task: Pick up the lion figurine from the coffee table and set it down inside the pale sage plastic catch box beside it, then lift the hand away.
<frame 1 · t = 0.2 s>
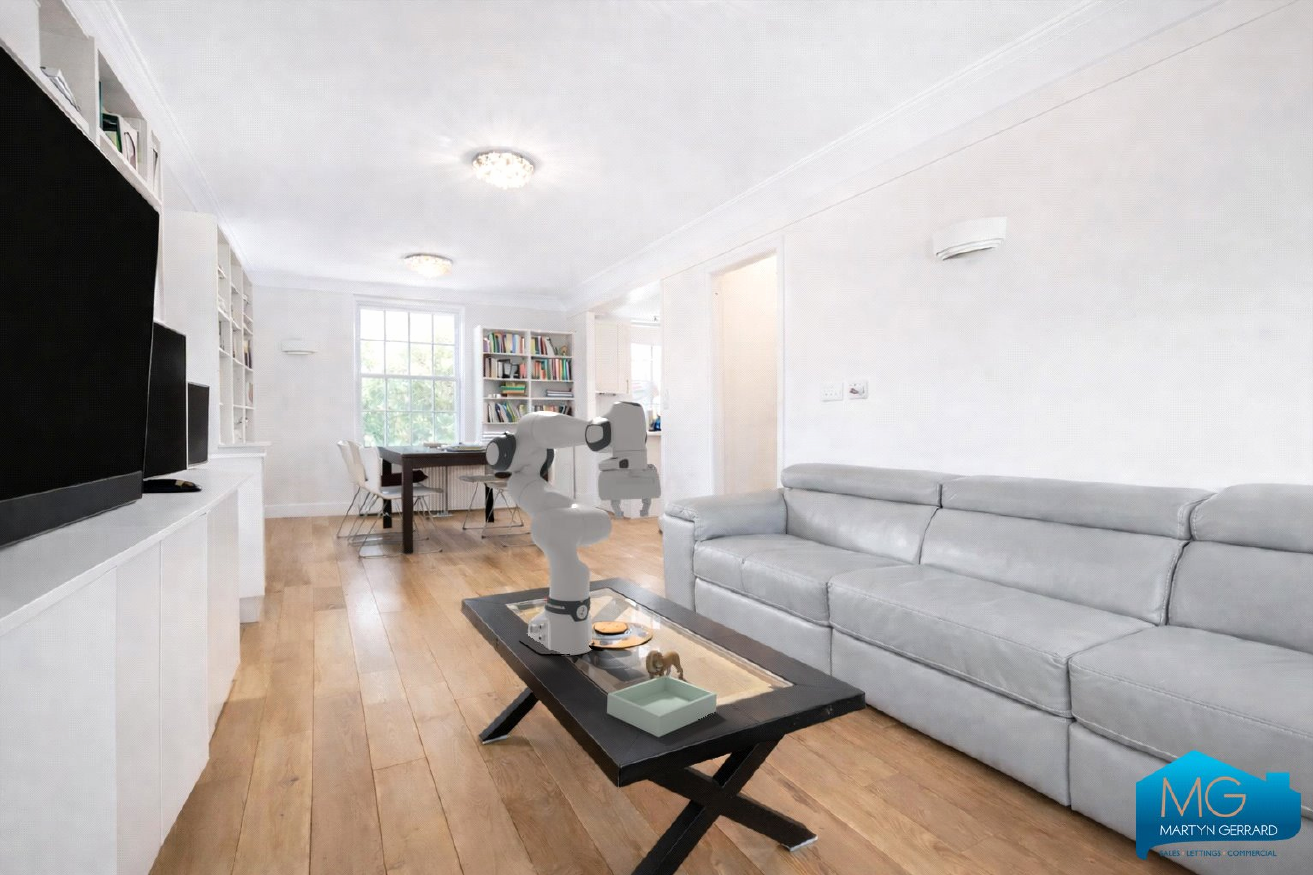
hand: (632, 517, 161), 39 cm above the table, tool pointing down, fingers open, 8 cm apart
lion figurine: (664, 684, 152), on the table
catch box: (661, 712, 135), on the table
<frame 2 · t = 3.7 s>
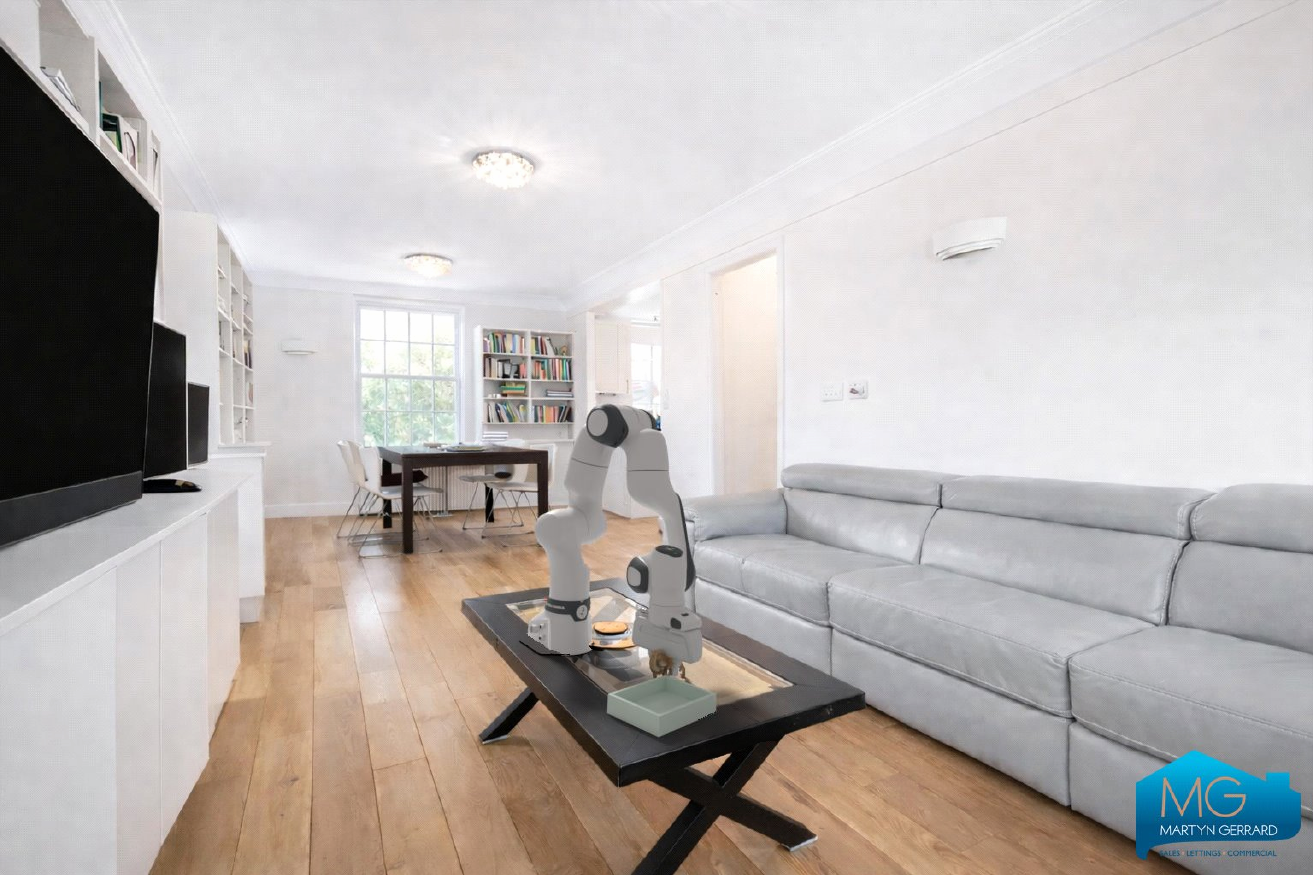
hand: (664, 672, 152), 3 cm above the table, tool pointing down, fingers open, 4 cm apart
lion figurine: (667, 683, 153), on the table, touching gripper
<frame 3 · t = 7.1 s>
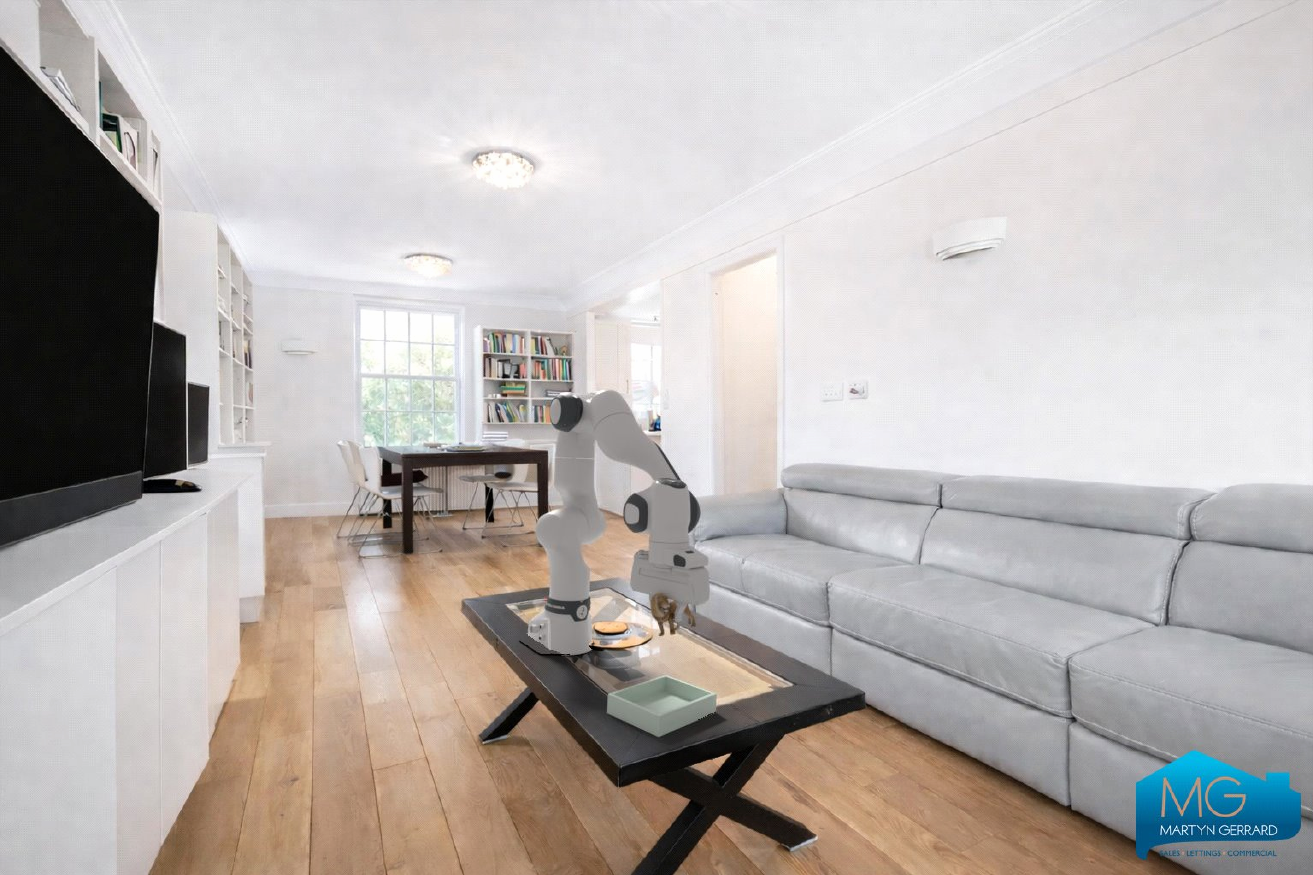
hand: (667, 618, 136), 20 cm above the table, tool pointing down, fingers closed on lion figurine, 4 cm apart
lion figurine: (676, 633, 136), point 17 cm above the table, touching gripper
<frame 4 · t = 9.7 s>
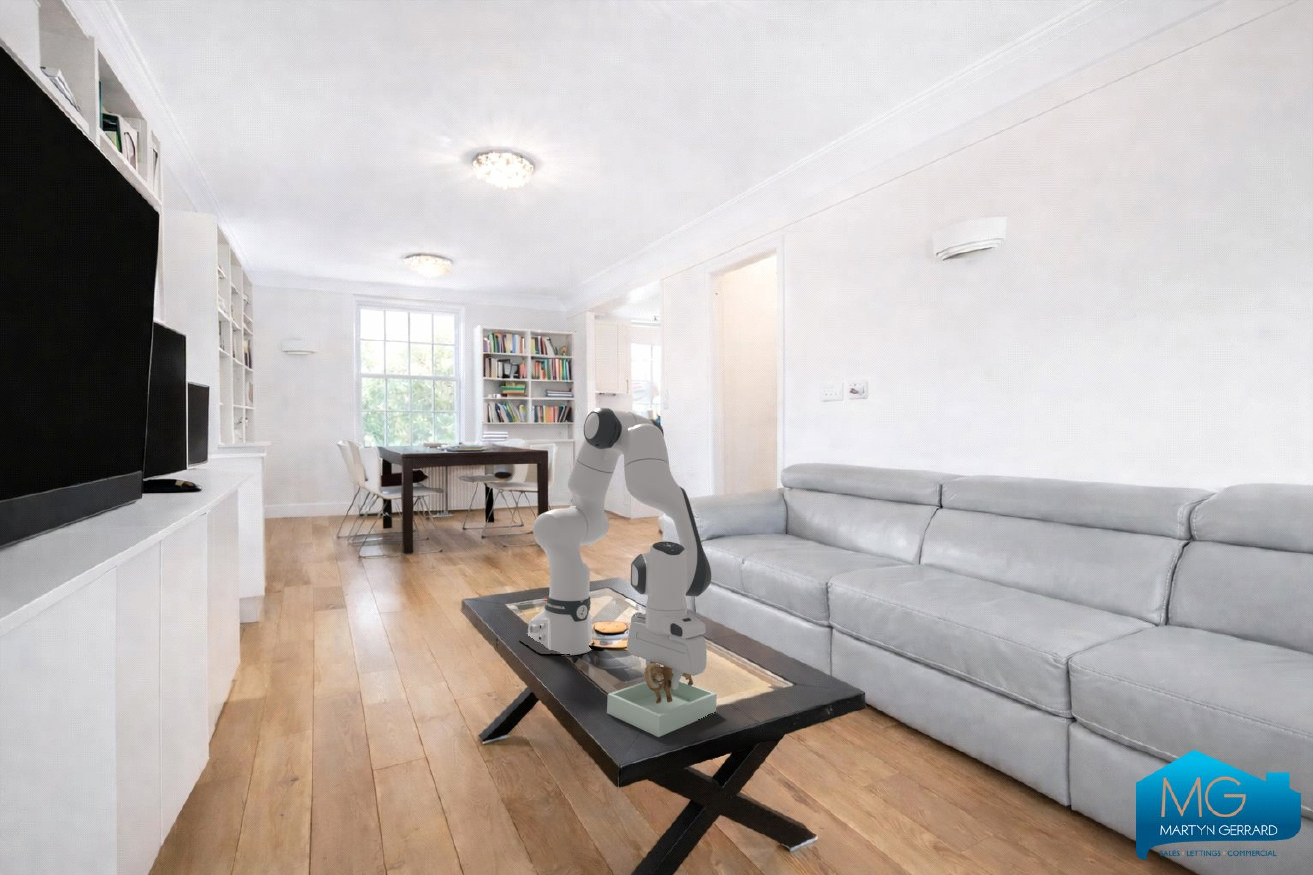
hand: (663, 684, 135), 6 cm above the table, tool pointing down, fingers closed on lion figurine, 4 cm apart
lion figurine: (673, 697, 135), point 3 cm above the table, touching catch box, gripper
when the fingers open (5 cm above the table, at t = 10.7 s): lion figurine stays where it is, resting on catch box.
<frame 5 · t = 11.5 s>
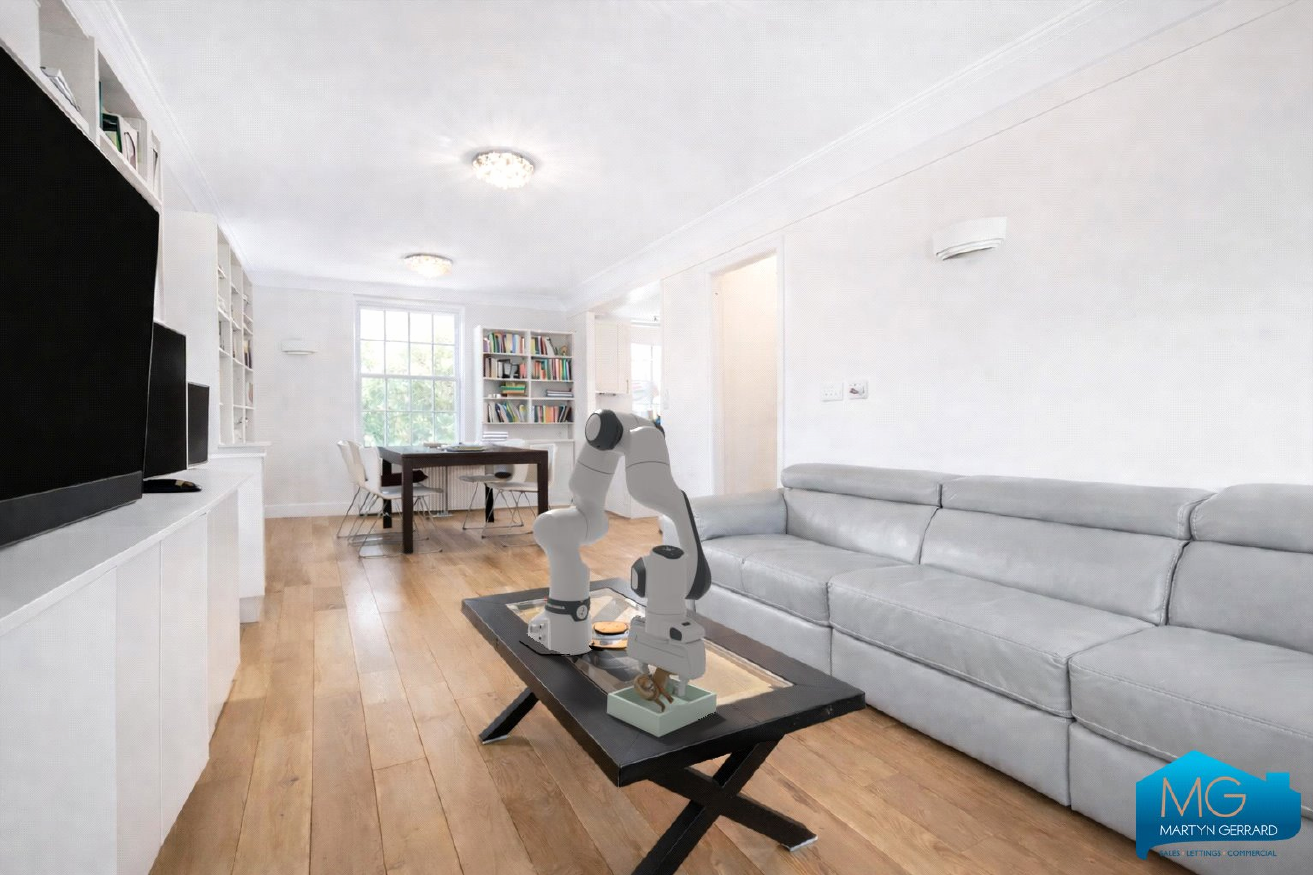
hand: (662, 688, 135), 5 cm above the table, tool pointing down, fingers open, 8 cm apart
lion figurine: (675, 697, 135), point 3 cm above the table, touching catch box, gripper
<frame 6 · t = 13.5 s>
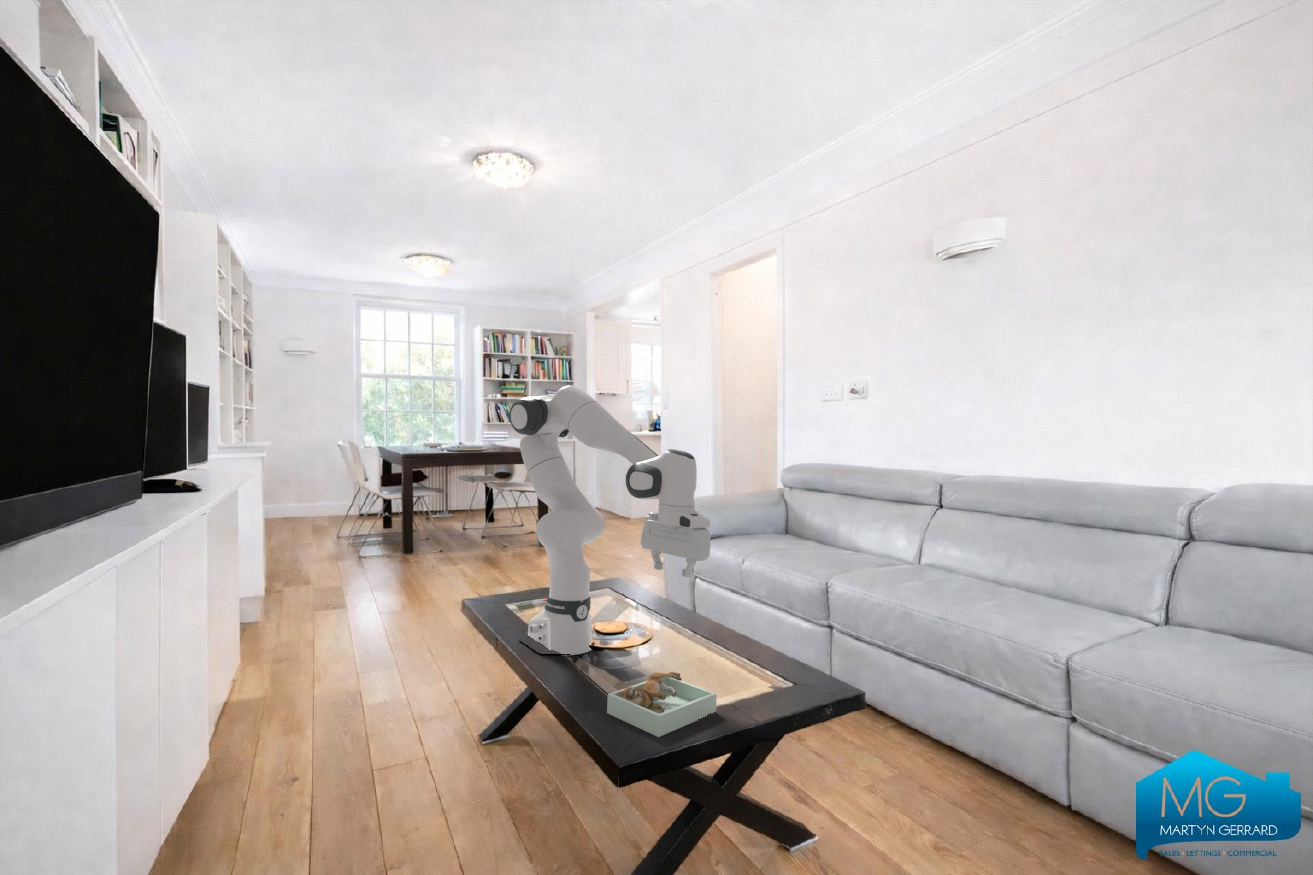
hand: (672, 572, 155), 26 cm above the table, tool pointing down, fingers open, 8 cm apart
lion figurine: (670, 694, 135), point 4 cm above the table, touching catch box
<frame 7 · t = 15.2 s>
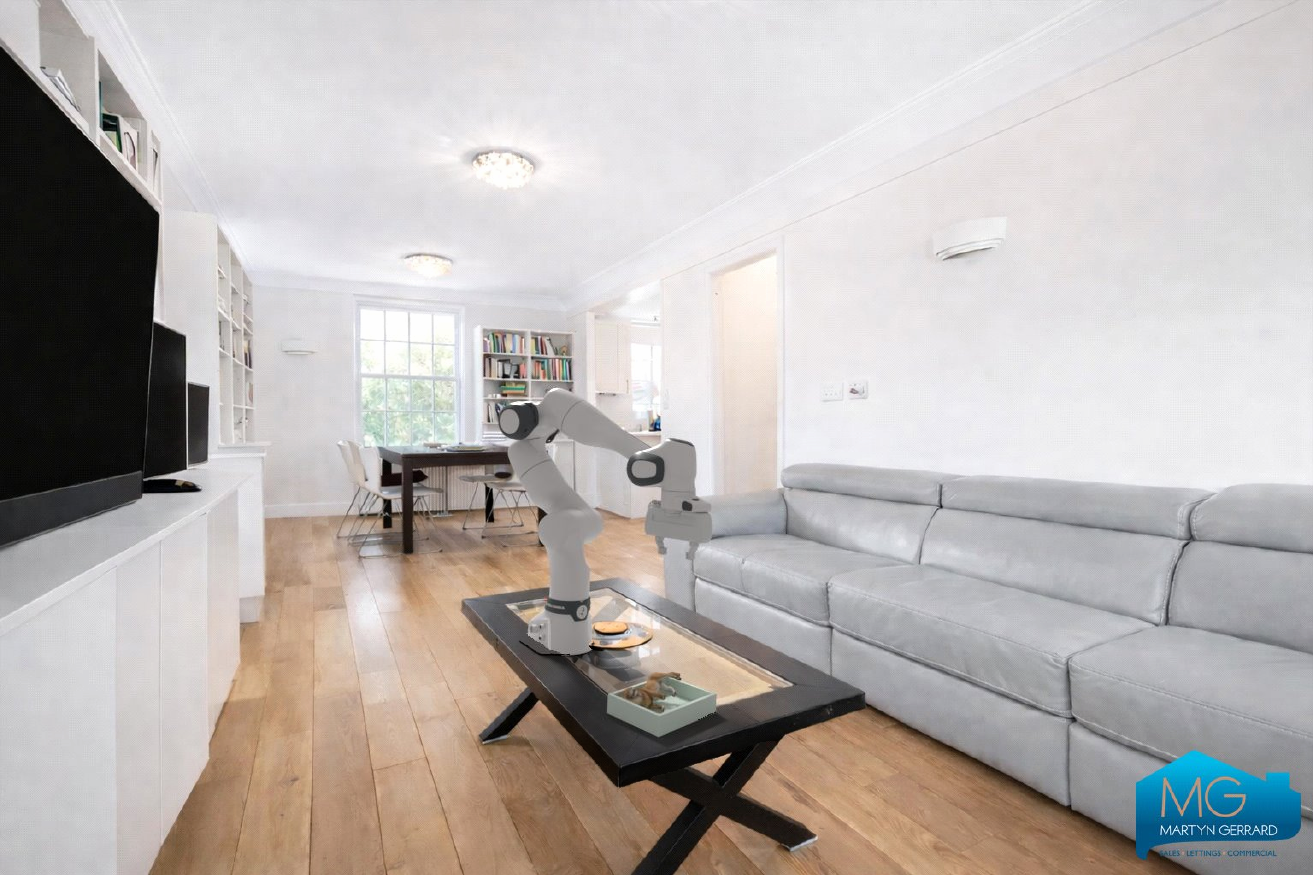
hand: (675, 556, 161), 29 cm above the table, tool pointing down, fingers open, 8 cm apart
nothing on the table moved.
at the end: lion figurine inside the target area on the catch box (1.7 cm from its centre), point 3.9 cm above the catch box's base; the gripper is holding nothing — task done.
